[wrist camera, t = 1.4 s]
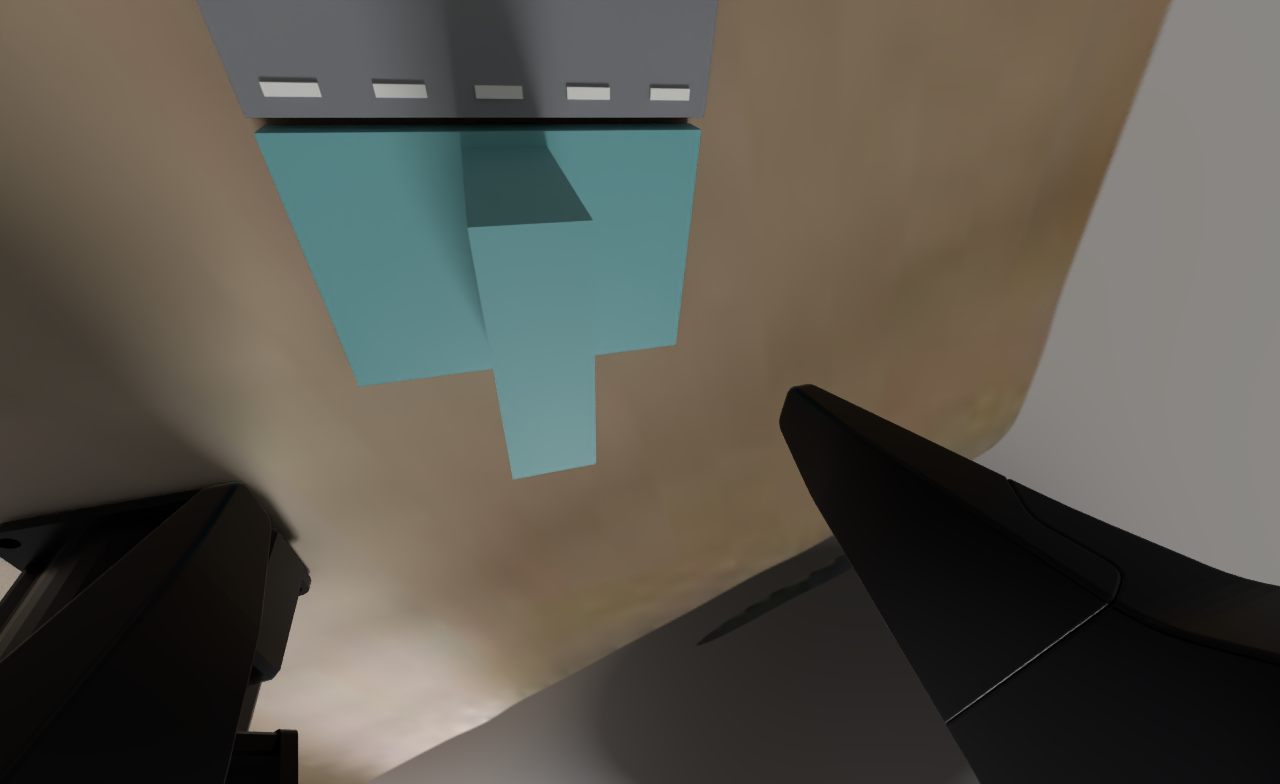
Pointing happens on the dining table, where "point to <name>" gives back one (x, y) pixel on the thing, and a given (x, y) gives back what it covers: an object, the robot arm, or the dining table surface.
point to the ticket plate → (465, 57)
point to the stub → (495, 256)
